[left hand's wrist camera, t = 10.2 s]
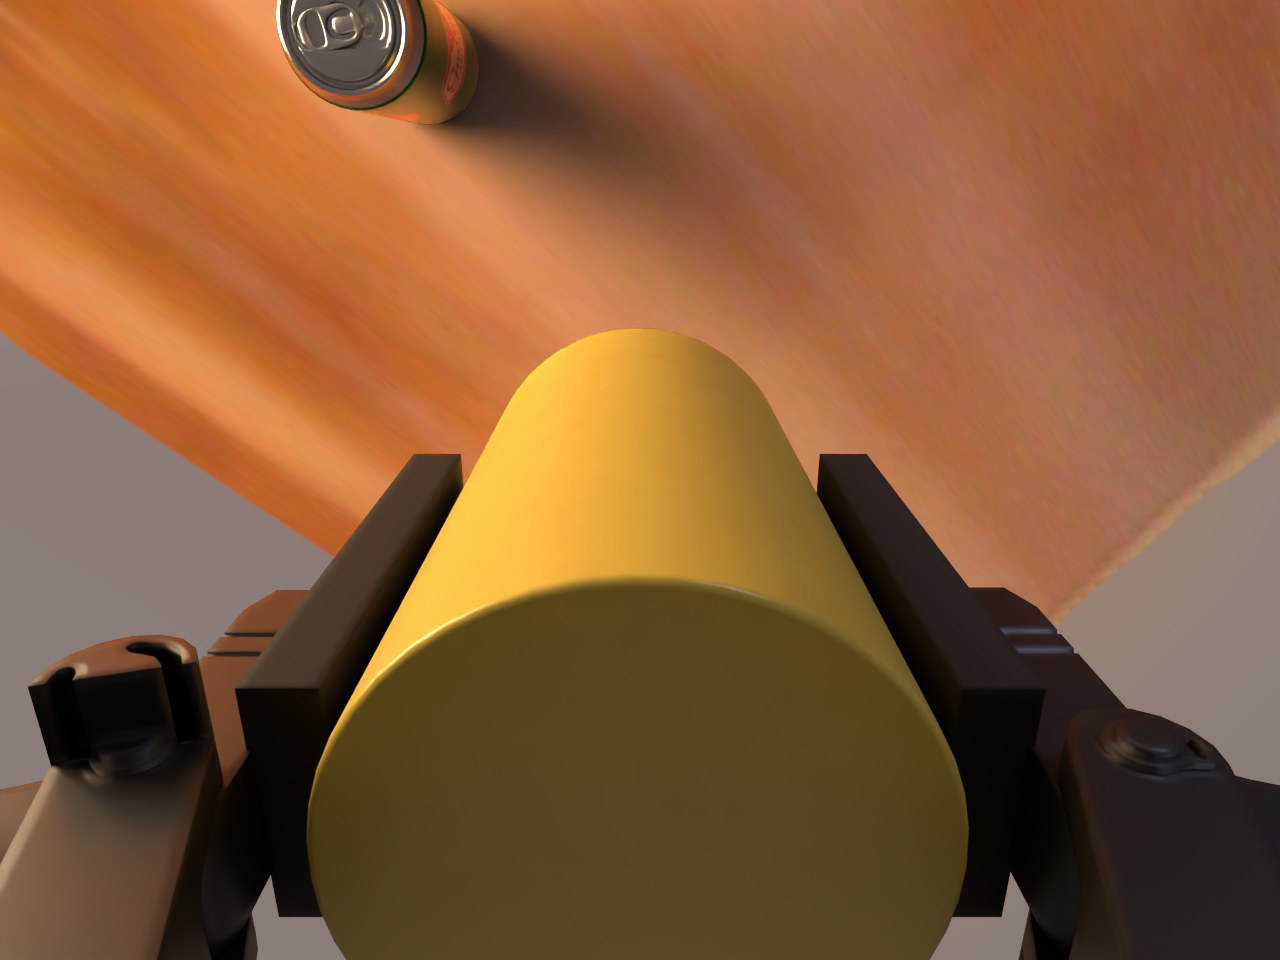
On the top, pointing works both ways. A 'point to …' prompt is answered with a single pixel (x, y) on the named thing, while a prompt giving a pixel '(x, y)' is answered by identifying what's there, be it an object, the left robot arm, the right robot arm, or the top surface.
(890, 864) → the can
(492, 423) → the top surface
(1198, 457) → the top surface
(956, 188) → the top surface
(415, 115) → the soda can
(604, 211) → the top surface
